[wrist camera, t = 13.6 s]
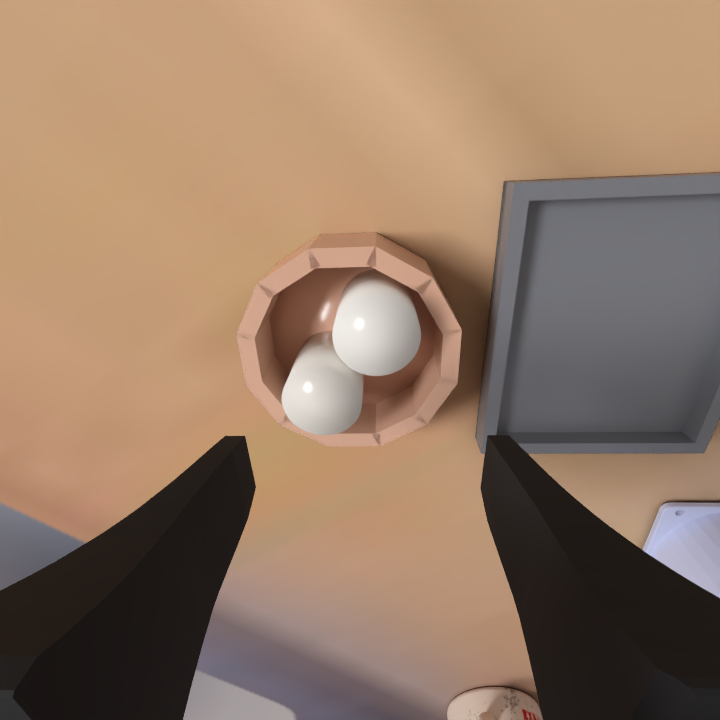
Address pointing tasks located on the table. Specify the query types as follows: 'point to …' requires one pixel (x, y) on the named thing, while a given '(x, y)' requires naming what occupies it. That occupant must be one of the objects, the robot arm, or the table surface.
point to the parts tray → (605, 316)
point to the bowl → (317, 314)
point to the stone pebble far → (322, 389)
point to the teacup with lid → (494, 705)
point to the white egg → (376, 325)
